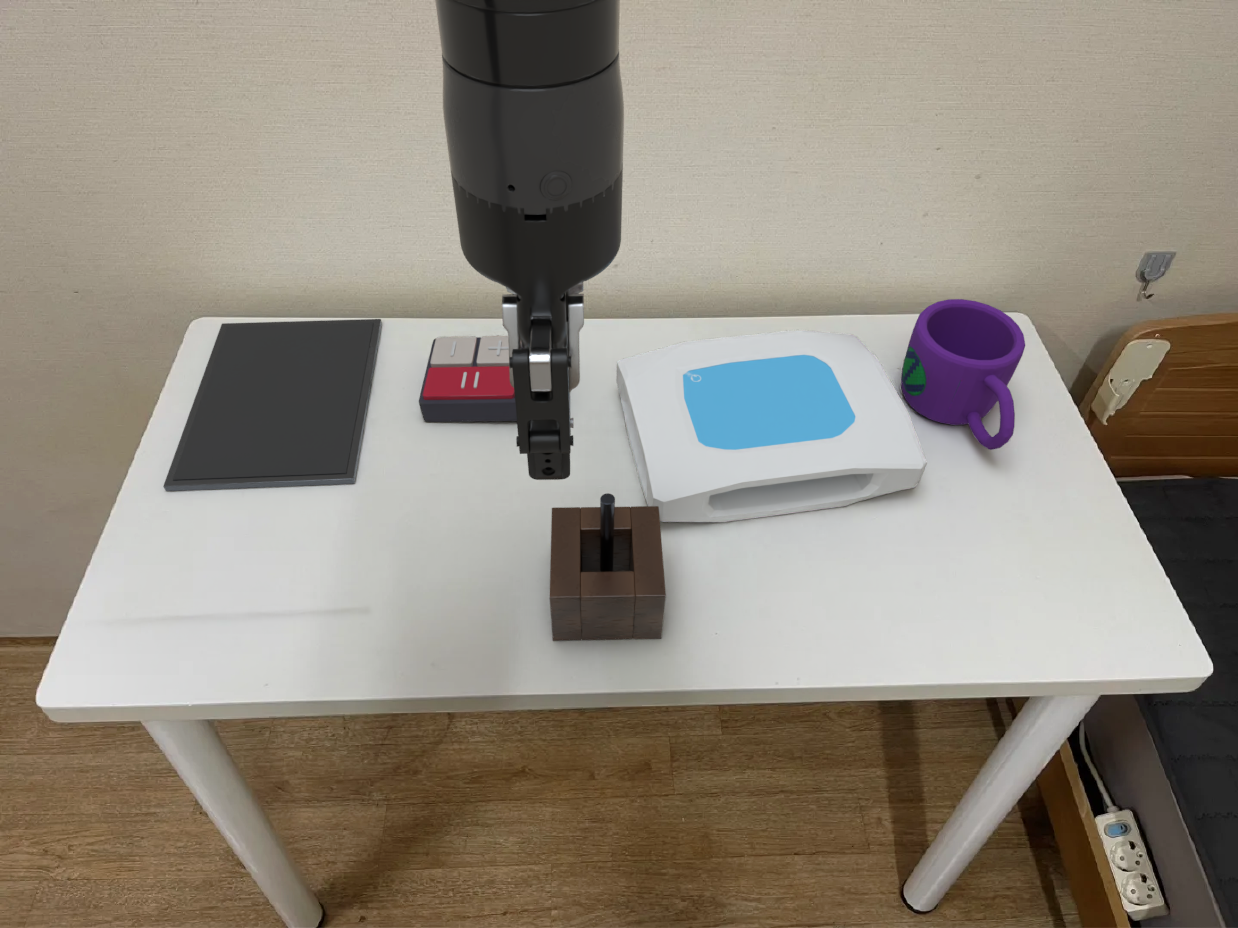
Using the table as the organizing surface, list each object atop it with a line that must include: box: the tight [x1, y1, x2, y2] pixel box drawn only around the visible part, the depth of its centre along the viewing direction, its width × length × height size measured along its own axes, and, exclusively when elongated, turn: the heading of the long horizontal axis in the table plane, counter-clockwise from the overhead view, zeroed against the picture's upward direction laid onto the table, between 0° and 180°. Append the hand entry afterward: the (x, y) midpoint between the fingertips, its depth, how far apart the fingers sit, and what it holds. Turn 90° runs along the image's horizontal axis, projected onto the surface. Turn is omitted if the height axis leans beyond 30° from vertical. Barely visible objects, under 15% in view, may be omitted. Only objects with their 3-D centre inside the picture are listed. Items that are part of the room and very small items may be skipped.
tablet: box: [163, 318, 383, 492], centre depth 99 cm, size 26×19×1 cm
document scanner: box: [615, 329, 928, 523], centre depth 95 cm, size 21×28×6 cm
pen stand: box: [549, 505, 667, 642], centre depth 81 cm, size 10×10×7 cm
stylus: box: [599, 492, 616, 572], centre depth 78 cm, size 1×1×14 cm
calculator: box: [418, 335, 523, 423], centre depth 100 cm, size 11×4×15 cm
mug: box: [900, 298, 1026, 451], centre depth 96 cm, size 17×11×10 cm, turn 11°
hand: (551, 418), depth 51 cm, fingers open, 8 cm apart
